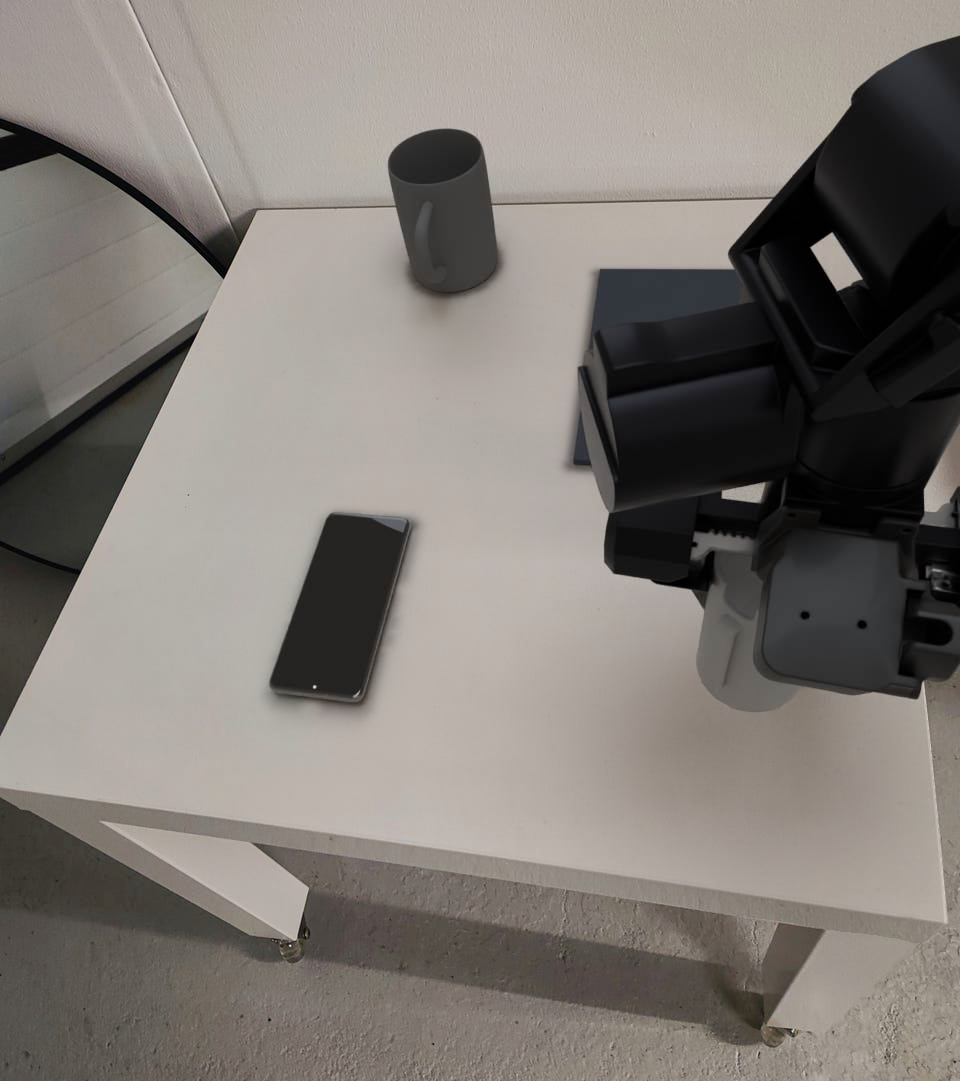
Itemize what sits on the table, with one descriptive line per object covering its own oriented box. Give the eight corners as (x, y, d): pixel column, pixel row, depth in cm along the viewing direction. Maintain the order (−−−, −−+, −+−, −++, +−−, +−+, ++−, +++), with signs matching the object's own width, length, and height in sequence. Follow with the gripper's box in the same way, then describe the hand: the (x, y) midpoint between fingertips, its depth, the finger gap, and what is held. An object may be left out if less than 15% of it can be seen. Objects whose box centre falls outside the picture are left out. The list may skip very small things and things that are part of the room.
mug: (422, 236, 87) (398, 128, 77) (505, 236, 85) (492, 125, 75) (392, 324, 80) (361, 218, 70) (482, 326, 78) (464, 217, 68)
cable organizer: (883, 612, 48) (950, 488, 38) (745, 751, 44) (780, 653, 35) (789, 547, 51) (829, 418, 42) (654, 672, 48) (663, 562, 38)
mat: (814, 274, 76) (815, 269, 75) (829, 477, 63) (830, 472, 63) (599, 273, 80) (599, 268, 79) (573, 464, 67) (573, 459, 67)
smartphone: (411, 516, 65) (360, 700, 56) (414, 524, 66) (364, 706, 57) (326, 510, 67) (264, 688, 58) (330, 517, 68) (269, 694, 59)
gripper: (574, 571, 29) (585, 726, 42) (1194, 670, 24) (989, 810, 37) (626, 349, 34) (622, 547, 47) (1138, 394, 29) (977, 600, 42)
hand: (786, 620), depth 43 cm, fingers closed on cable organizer, 7 cm apart
